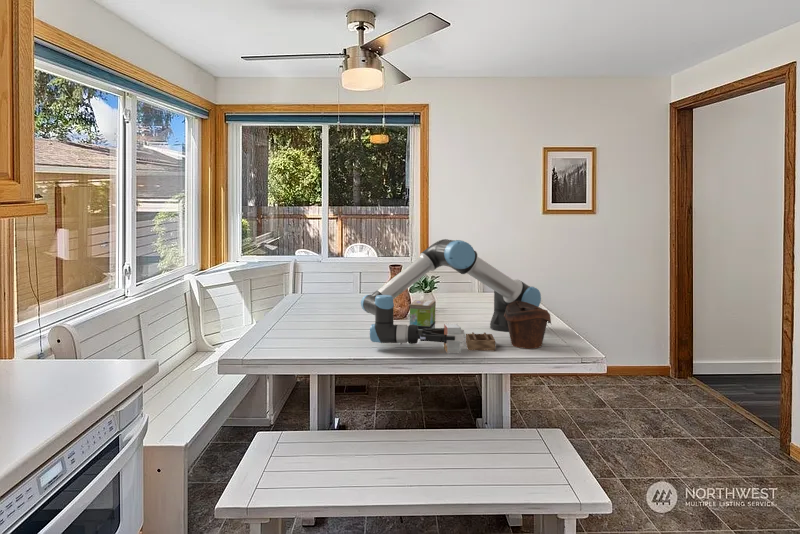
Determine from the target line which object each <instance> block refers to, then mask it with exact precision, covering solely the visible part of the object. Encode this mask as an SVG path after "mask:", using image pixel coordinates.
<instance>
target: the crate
mask: <svg viewBox="0 0 800 534" xmlns="http://www.w3.org/2000/svg"><path fill="white" fill-rule="evenodd" d="M465 344H466V345H465V346H466V349H467V351H491V352H492V351H494V352H495V351H496V340H495V338H494V336H493V334H492V333H487V332H483V333H475V332H474V331H473V332H471V333H465Z"/></svg>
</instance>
